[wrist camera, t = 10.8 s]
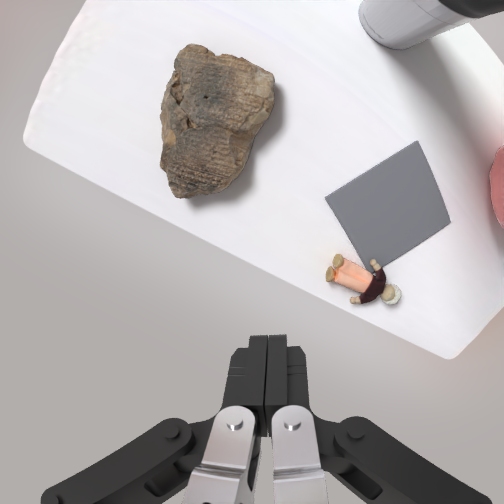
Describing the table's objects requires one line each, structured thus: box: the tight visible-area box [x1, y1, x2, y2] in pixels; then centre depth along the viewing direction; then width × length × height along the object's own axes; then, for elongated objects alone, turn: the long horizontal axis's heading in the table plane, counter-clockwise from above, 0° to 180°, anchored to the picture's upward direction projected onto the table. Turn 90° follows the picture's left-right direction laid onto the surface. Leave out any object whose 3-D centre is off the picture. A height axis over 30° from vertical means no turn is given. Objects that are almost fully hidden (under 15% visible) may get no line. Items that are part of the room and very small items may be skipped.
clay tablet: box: [160, 44, 275, 199], centre depth 33 cm, size 14×5×20 cm
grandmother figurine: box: [326, 254, 401, 305], centre depth 41 cm, size 8×4×13 cm
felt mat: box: [325, 141, 451, 273], centre depth 37 cm, size 16×14×1 cm
